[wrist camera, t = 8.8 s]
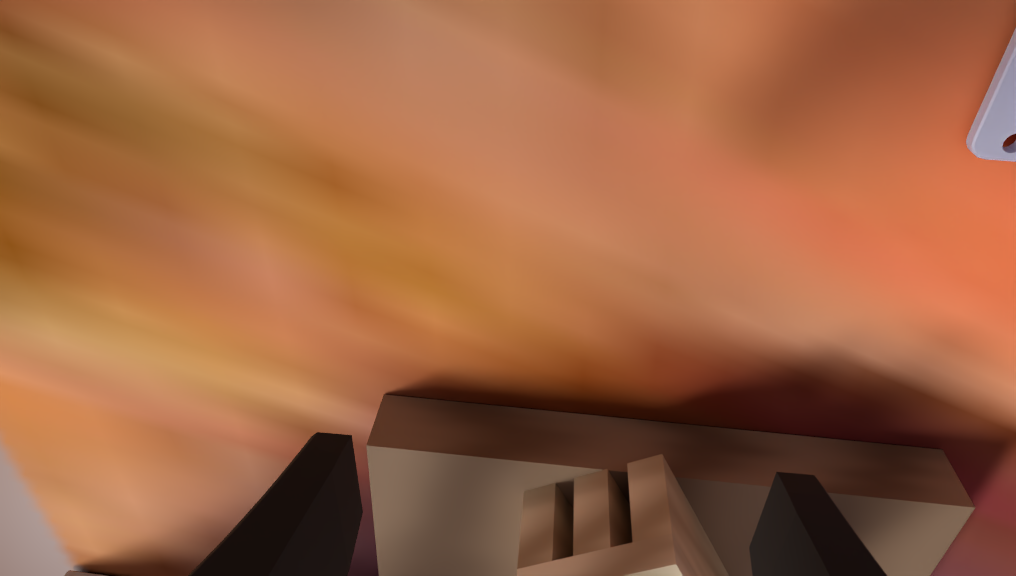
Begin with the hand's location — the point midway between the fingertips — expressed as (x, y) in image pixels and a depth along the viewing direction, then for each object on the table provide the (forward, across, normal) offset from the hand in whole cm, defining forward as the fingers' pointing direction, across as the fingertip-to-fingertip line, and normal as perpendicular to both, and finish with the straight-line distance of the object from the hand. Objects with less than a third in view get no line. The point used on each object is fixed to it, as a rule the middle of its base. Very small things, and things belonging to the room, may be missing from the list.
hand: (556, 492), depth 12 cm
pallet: (+8, -3, +12) cm, 15 cm away
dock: (+10, -4, +15) cm, 19 cm away
